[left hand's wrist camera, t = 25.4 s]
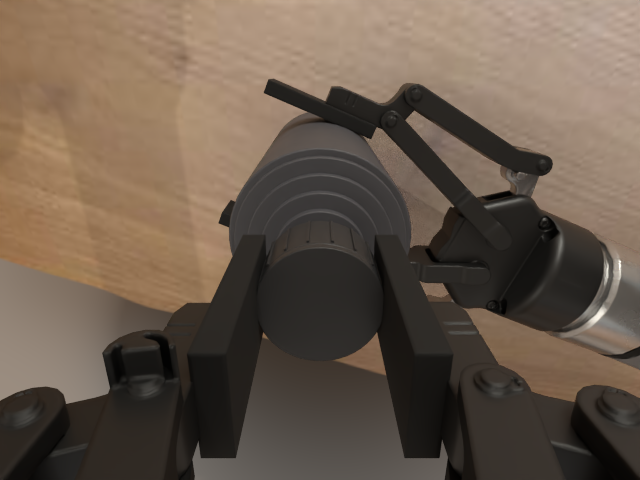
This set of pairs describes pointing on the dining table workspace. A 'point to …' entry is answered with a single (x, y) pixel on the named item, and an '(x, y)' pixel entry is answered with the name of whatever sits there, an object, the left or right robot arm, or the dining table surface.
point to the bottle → (319, 186)
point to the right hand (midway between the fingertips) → (246, 151)
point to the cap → (320, 292)
